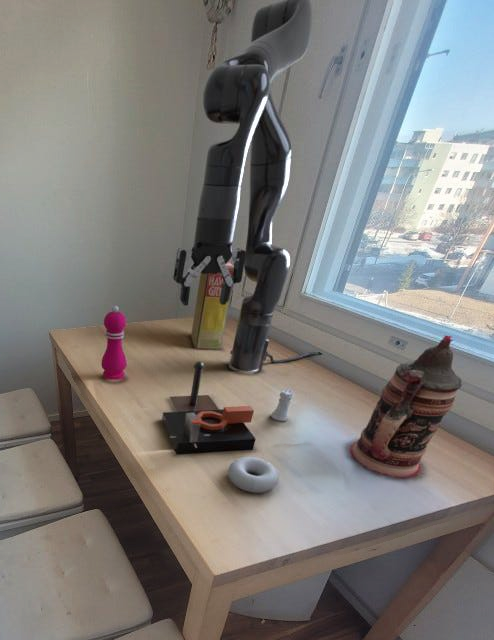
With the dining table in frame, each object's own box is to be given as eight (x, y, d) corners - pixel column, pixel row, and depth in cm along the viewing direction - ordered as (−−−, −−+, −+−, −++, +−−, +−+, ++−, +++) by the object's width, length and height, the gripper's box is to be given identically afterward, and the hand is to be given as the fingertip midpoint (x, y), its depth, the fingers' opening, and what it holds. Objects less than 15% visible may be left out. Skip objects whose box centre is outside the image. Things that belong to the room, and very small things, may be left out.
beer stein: (389, 449, 100) (320, 445, 98) (453, 328, 85) (373, 318, 83) (439, 485, 87) (360, 481, 84) (526, 348, 71) (433, 338, 69)
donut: (265, 466, 89) (220, 467, 88) (270, 453, 87) (224, 453, 86) (283, 496, 82) (234, 496, 81) (288, 482, 80) (238, 483, 79)
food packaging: (222, 349, 141) (237, 267, 125) (194, 349, 141) (206, 266, 125) (215, 336, 152) (229, 259, 135) (190, 335, 152) (200, 258, 135)
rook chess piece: (287, 418, 106) (297, 389, 101) (287, 426, 102) (297, 397, 97) (269, 415, 107) (278, 386, 102) (268, 423, 104) (277, 393, 98)
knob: (183, 430, 94) (186, 411, 91) (191, 430, 94) (194, 411, 91) (189, 442, 90) (192, 423, 87) (197, 442, 90) (200, 422, 87)
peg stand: (208, 398, 113) (216, 353, 105) (220, 416, 106) (230, 369, 98) (169, 399, 112) (174, 354, 104) (178, 418, 104) (185, 370, 96)
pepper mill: (123, 384, 118) (126, 310, 105) (98, 382, 119) (98, 308, 106) (127, 374, 123) (131, 303, 110) (104, 372, 124) (105, 300, 111)
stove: (230, 419, 104) (233, 408, 102) (256, 455, 92) (259, 443, 90) (157, 423, 102) (158, 411, 100) (173, 460, 90) (175, 448, 88)
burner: (221, 412, 101) (221, 412, 101) (235, 431, 94) (235, 431, 94) (186, 414, 100) (186, 413, 100) (197, 433, 93) (197, 433, 93)
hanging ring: (200, 430, 94) (203, 418, 92) (191, 415, 99) (193, 403, 97) (254, 427, 96) (258, 415, 94) (243, 413, 101) (246, 401, 99)
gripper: (244, 212, 83) (228, 299, 94) (176, 211, 81) (167, 299, 92) (260, 217, 78) (240, 309, 88) (187, 216, 76) (176, 309, 86)
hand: (203, 304), depth 90 cm, fingers open, 8 cm apart
